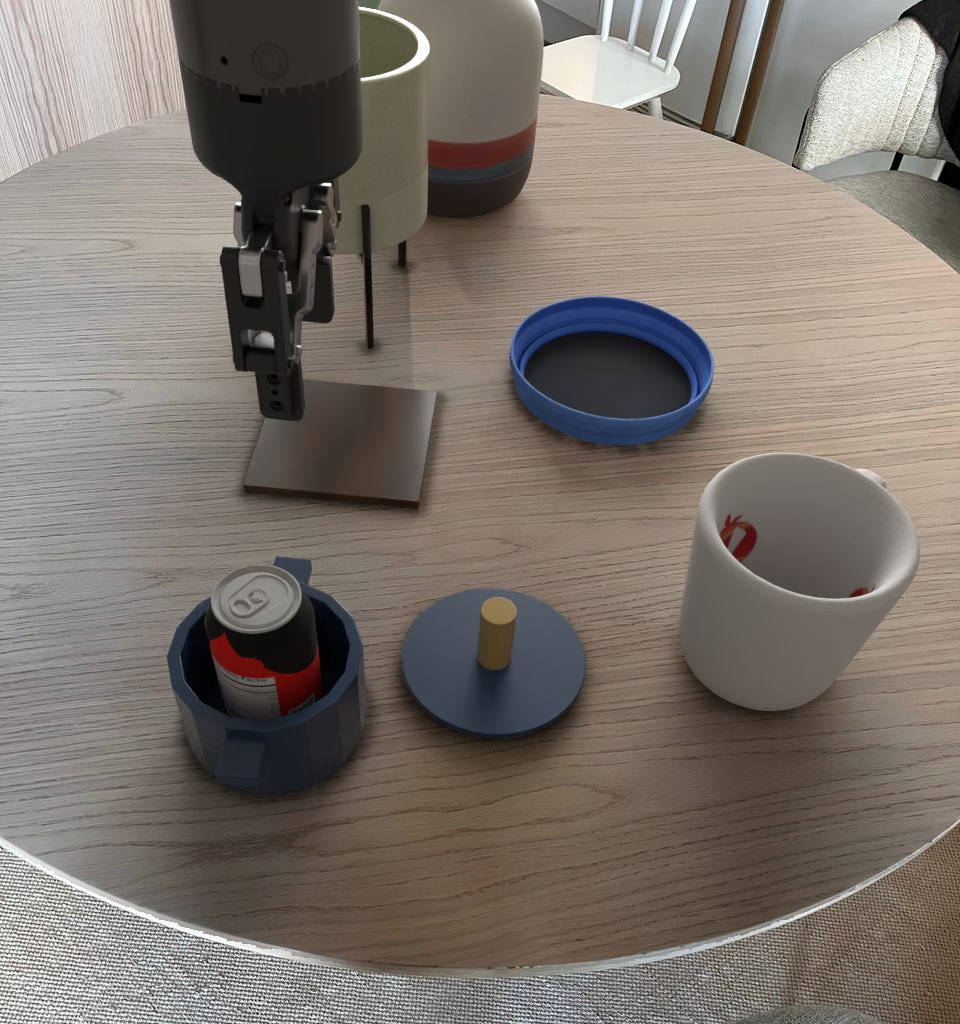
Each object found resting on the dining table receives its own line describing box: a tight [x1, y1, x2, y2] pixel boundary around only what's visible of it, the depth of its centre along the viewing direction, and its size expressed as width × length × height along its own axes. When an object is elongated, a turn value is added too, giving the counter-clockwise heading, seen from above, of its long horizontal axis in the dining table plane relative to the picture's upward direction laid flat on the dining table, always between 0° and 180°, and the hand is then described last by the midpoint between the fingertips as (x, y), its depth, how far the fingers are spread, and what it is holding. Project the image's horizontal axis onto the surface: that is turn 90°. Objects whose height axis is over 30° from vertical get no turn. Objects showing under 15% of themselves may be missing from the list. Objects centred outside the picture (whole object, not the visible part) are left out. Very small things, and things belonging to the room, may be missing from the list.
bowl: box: [508, 295, 715, 447], centre depth 91 cm, size 18×18×4 cm
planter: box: [334, 6, 430, 350], centre depth 89 cm, size 15×16×23 cm
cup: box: [678, 451, 921, 712], centre depth 69 cm, size 18×14×14 cm
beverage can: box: [205, 563, 324, 720], centre depth 63 cm, size 6×6×12 cm
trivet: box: [242, 378, 438, 510], centre depth 85 cm, size 14×14×1 cm
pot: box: [166, 555, 367, 795], centre depth 65 cm, size 12×17×7 cm
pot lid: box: [401, 587, 587, 740], centre depth 69 cm, size 13×13×6 cm
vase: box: [376, 0, 545, 220], centre depth 103 cm, size 17×17×24 cm
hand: (299, 365), depth 55 cm, fingers open, 8 cm apart
